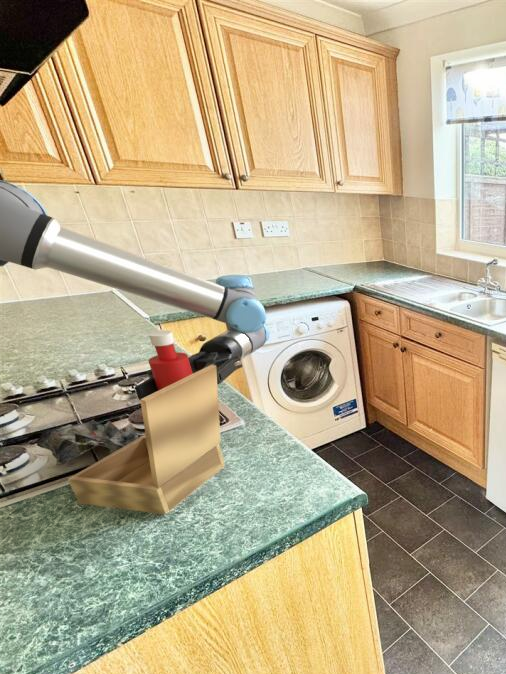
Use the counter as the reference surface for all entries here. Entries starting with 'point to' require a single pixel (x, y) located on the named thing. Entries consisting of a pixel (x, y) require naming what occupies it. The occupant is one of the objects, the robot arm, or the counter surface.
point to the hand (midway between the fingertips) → (158, 394)
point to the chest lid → (181, 423)
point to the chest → (140, 480)
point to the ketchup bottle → (167, 360)
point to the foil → (85, 439)
